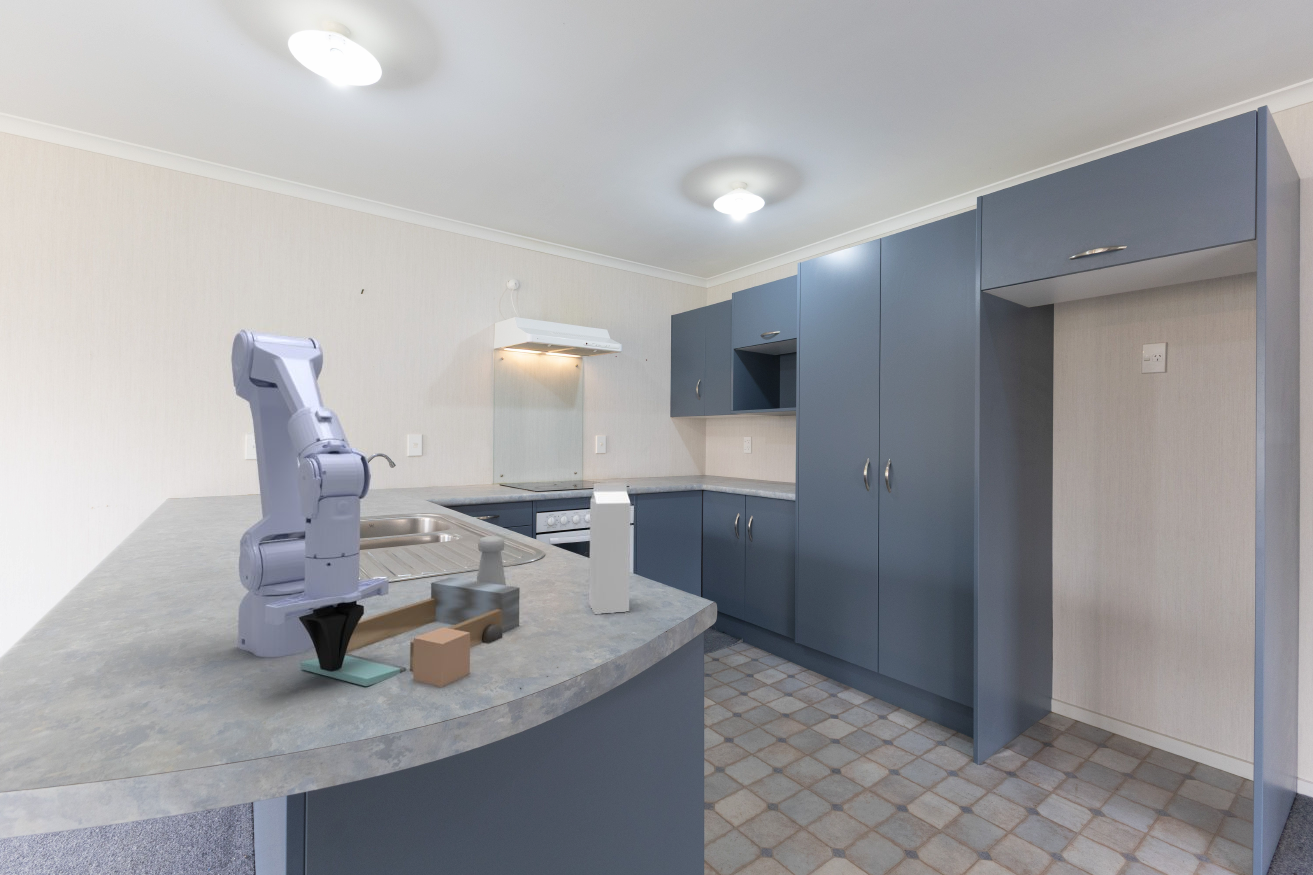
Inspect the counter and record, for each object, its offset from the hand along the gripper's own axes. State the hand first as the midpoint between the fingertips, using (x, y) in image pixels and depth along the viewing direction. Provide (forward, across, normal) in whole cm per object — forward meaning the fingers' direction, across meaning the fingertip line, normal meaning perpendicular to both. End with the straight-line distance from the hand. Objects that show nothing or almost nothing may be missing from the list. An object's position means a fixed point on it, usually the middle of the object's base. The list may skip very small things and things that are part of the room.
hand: (331, 668), depth 70 cm
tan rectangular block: (+2, +6, -12) cm, 13 cm away
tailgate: (+1, +5, 0) cm, 5 cm away
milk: (+2, +43, -14) cm, 45 cm away
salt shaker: (+2, +31, +2) cm, 31 cm away
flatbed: (+2, +16, -1) cm, 16 cm away
